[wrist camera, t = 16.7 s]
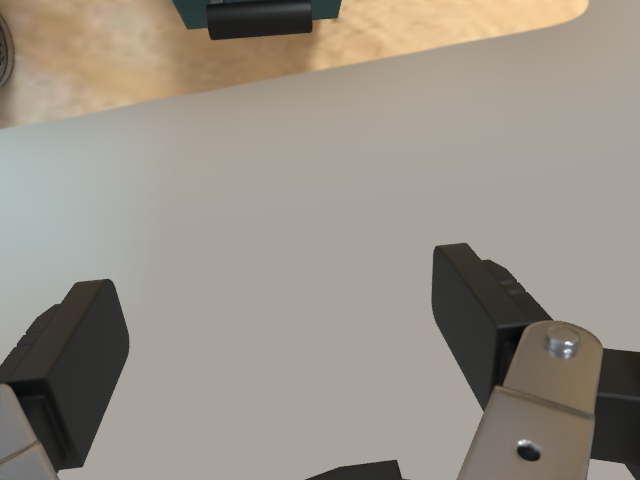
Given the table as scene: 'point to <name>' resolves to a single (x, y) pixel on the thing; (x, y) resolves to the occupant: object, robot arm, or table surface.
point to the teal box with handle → (254, 16)
